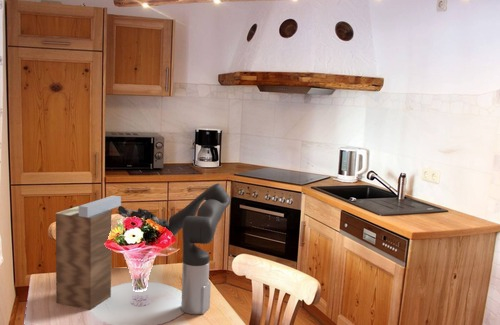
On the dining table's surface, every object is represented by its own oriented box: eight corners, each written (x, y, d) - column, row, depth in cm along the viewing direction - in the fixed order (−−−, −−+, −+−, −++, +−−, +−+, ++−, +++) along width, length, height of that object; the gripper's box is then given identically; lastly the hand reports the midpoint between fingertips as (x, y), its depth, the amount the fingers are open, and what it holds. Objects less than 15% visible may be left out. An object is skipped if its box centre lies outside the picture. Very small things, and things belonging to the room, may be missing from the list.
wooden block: (110, 296, 176) (111, 210, 172) (90, 309, 165) (90, 217, 160) (78, 290, 180) (78, 206, 176) (56, 302, 169) (55, 213, 164)
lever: (120, 205, 180) (120, 196, 179) (87, 217, 161) (87, 207, 160) (112, 204, 181) (112, 195, 180) (78, 216, 162) (78, 206, 161)
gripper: (159, 231, 199) (142, 220, 185) (129, 227, 203) (110, 216, 189) (164, 214, 202) (147, 202, 187) (134, 210, 206) (115, 198, 191)
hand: (128, 209), depth 188 cm, fingers open, 8 cm apart
